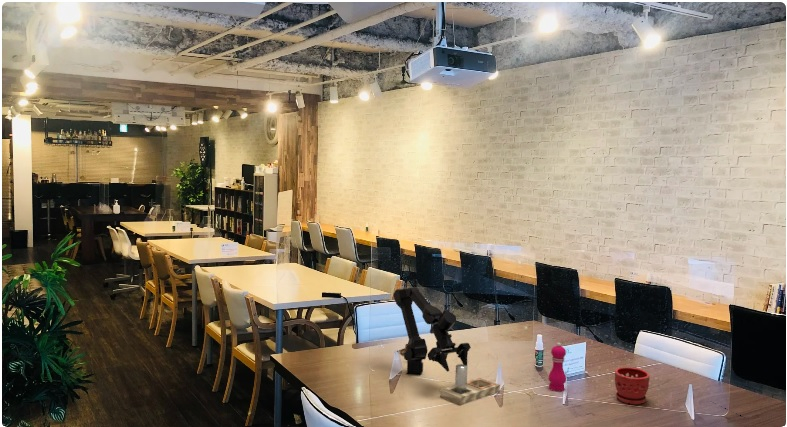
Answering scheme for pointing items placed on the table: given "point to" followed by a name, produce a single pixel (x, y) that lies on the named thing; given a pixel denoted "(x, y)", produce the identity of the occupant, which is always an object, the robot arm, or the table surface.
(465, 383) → the silver metal cylinder
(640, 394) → the plant pot
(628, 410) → the table surface
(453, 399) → the socket board
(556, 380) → the pepper mill
